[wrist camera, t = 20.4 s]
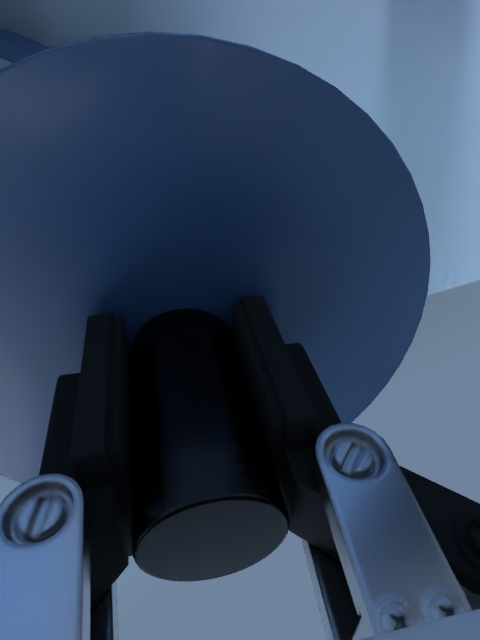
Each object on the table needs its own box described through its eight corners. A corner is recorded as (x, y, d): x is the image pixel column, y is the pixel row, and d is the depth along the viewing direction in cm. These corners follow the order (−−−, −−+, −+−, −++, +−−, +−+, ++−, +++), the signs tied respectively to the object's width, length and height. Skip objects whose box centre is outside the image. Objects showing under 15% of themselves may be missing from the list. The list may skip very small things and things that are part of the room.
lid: (475, 25, 9) (881, 51, 4) (364, 438, 17) (458, 611, 12) (-288, 34, 7) (-1344, 111, 2) (0, 504, 15) (-64, 749, 10)
